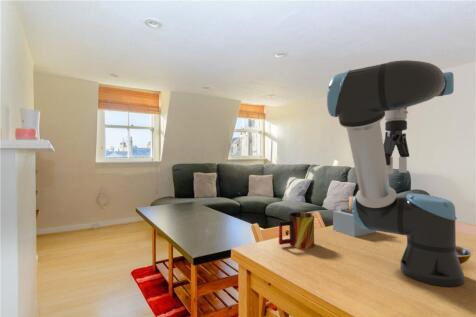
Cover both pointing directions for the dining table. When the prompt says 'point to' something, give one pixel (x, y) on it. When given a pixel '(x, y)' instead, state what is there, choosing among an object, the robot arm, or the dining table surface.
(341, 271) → the dining table surface
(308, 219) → the mug
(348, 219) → the socket block
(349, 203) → the peg
